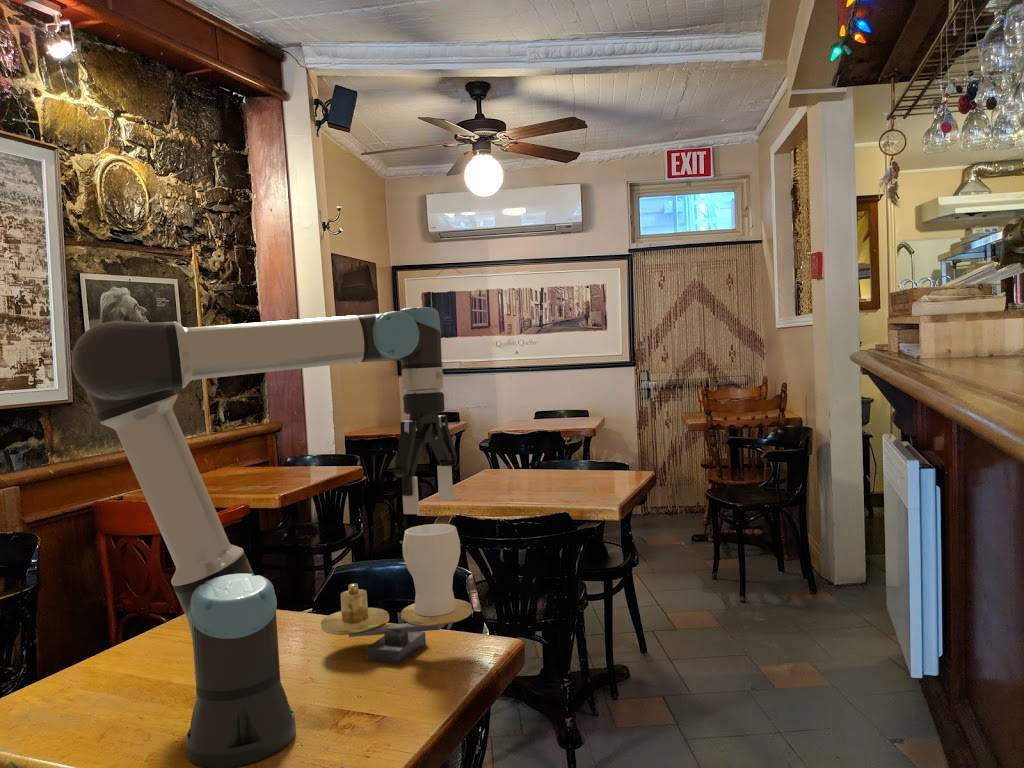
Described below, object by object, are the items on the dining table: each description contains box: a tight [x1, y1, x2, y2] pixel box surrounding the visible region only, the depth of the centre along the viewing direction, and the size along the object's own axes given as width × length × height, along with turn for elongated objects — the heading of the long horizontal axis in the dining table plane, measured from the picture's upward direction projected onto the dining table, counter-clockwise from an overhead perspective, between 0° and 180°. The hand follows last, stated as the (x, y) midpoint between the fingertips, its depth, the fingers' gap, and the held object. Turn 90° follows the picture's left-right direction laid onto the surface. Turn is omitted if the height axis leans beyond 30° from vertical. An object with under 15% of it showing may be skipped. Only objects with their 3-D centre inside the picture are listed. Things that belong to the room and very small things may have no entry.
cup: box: [402, 523, 461, 616], centre depth 136 cm, size 11×11×15 cm
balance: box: [320, 583, 473, 665], centre depth 140 cm, size 13×31×12 cm, turn 69°
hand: (429, 506), depth 136 cm, fingers open, 13 cm apart
